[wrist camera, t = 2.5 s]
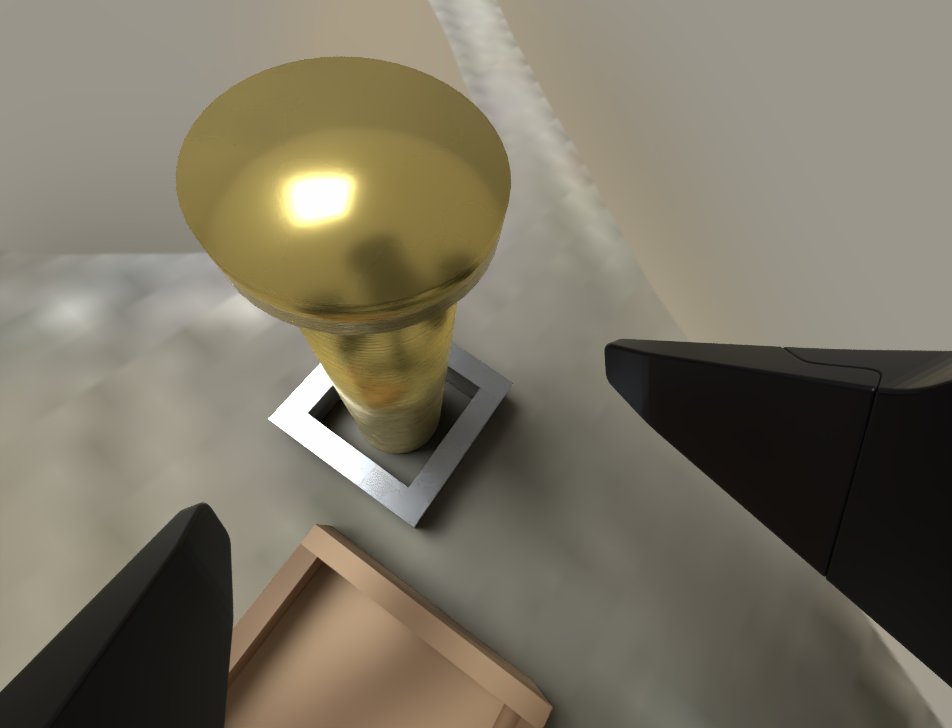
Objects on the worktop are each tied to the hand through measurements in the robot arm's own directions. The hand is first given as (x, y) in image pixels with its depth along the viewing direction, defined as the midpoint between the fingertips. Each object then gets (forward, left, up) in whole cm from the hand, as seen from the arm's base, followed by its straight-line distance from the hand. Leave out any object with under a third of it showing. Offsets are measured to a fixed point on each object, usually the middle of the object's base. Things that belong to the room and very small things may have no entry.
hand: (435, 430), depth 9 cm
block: (+3, -2, -11) cm, 12 cm away
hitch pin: (+3, -2, -11) cm, 12 cm away
